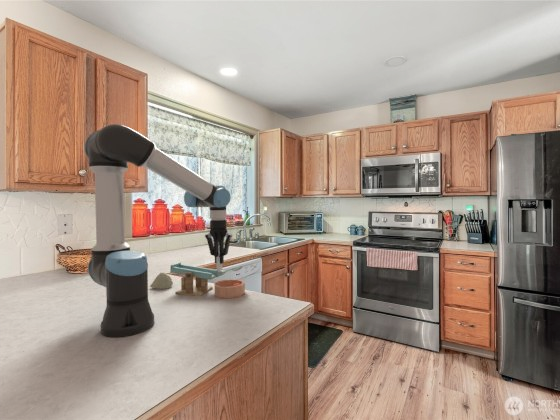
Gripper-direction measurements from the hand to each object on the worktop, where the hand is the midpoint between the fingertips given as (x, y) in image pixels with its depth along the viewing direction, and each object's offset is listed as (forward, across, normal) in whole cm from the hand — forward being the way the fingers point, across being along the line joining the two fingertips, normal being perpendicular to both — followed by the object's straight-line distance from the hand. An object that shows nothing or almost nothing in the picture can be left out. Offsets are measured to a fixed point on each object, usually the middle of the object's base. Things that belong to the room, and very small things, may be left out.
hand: (219, 270), depth 135 cm
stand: (+8, +9, +7) cm, 14 cm away
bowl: (+8, -8, +7) cm, 14 cm away
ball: (+6, -10, +7) cm, 13 cm away
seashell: (+8, +28, +4) cm, 29 cm away
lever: (+1, +9, +3) cm, 9 cm away
